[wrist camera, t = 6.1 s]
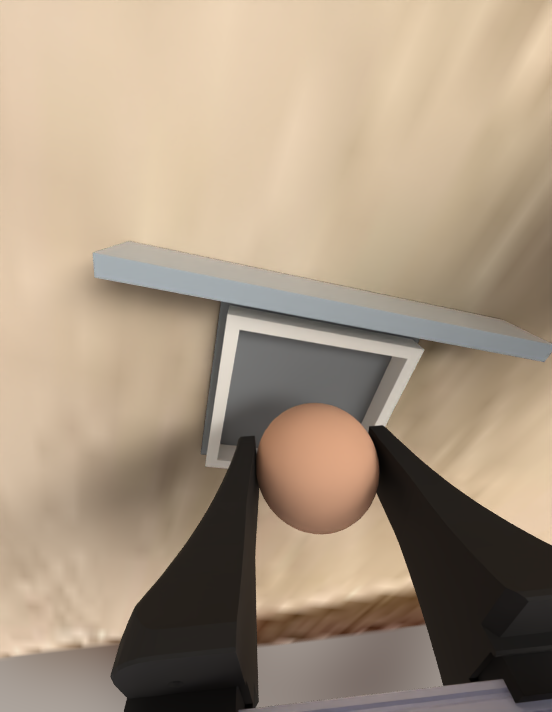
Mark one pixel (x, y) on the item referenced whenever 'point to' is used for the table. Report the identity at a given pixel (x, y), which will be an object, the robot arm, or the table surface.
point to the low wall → (311, 299)
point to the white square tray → (297, 373)
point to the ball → (317, 468)
